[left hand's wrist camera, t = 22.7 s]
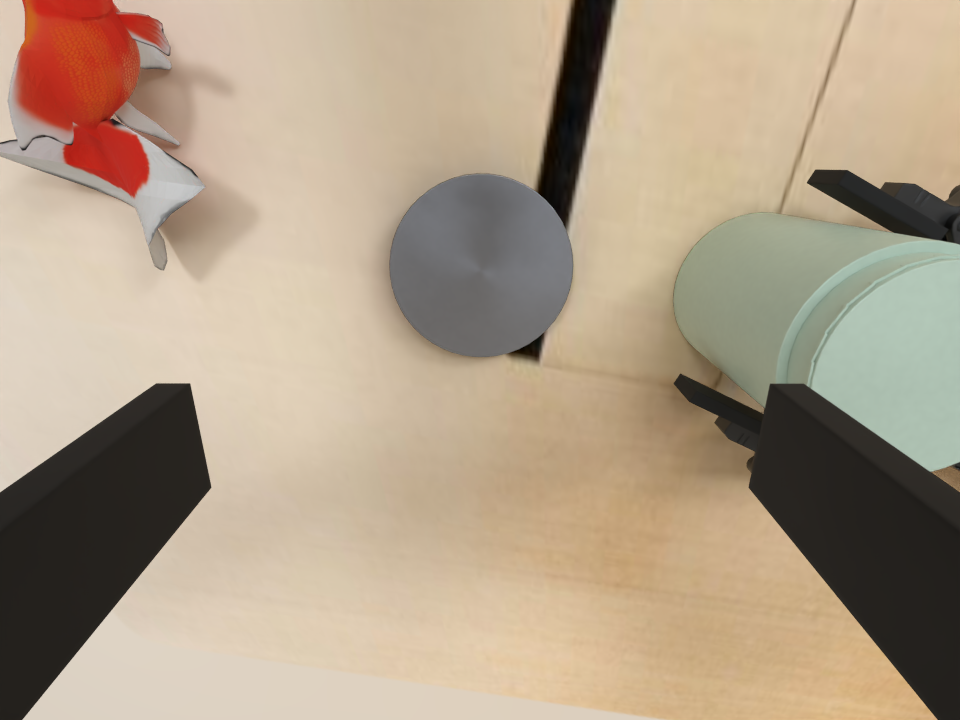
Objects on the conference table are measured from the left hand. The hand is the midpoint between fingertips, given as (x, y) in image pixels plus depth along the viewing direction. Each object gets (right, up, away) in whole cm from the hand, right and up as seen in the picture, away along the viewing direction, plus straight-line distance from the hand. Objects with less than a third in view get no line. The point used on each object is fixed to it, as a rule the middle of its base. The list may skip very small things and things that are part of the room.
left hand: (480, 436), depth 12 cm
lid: (0, +7, +21) cm, 23 cm away
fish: (-20, +16, +20) cm, 32 cm away
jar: (+18, +6, +24) cm, 30 cm away
